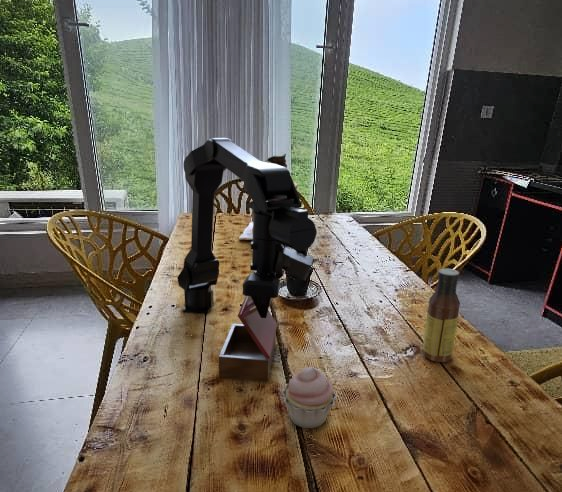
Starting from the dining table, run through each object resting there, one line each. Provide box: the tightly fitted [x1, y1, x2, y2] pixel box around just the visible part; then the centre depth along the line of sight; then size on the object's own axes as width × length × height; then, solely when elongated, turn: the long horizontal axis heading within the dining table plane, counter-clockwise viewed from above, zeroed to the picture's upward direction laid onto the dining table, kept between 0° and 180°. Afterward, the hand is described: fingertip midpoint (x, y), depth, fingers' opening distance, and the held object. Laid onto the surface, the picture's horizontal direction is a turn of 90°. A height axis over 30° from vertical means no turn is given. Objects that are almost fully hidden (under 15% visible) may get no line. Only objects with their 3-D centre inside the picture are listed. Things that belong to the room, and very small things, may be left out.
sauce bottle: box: [422, 267, 461, 363], centre depth 93 cm, size 6×6×20 cm
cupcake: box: [281, 366, 338, 429], centre depth 75 cm, size 9×9×10 cm
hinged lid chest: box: [218, 323, 277, 383], centre depth 92 cm, size 10×14×5 cm
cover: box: [237, 296, 278, 359], centre depth 88 cm, size 10×14×5 cm
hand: (265, 311), depth 88 cm, fingers closed on cover, 5 cm apart
